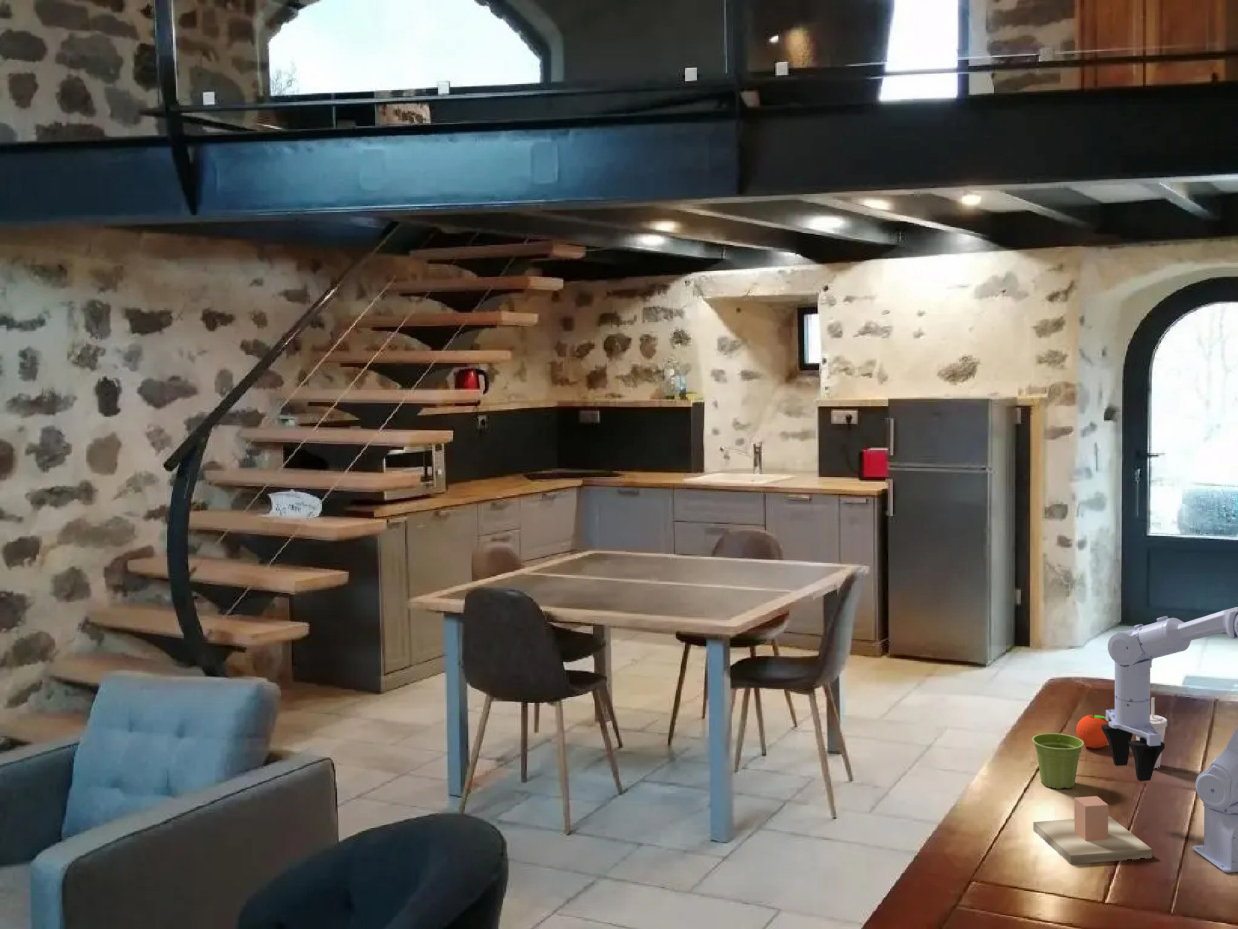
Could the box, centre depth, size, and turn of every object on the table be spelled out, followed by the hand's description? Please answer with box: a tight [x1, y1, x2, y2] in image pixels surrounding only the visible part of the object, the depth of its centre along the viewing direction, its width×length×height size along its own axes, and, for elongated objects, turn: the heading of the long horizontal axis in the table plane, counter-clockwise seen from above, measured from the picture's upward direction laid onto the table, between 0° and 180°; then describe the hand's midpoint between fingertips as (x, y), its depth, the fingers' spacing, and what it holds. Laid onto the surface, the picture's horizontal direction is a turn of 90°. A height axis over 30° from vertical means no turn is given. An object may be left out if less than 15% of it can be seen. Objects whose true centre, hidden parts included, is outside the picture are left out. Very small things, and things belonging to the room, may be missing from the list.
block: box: [1073, 795, 1109, 841], centre depth 200 cm, size 4×4×6 cm
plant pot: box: [1031, 732, 1085, 790], centre depth 227 cm, size 9×9×9 cm
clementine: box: [1075, 714, 1109, 749], centre depth 247 cm, size 8×7×7 cm
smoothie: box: [1135, 696, 1168, 769], centre depth 235 cm, size 6×6×14 cm
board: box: [1033, 815, 1153, 865], centre depth 200 cm, size 14×14×2 cm
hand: (1132, 772), depth 207 cm, fingers open, 7 cm apart
